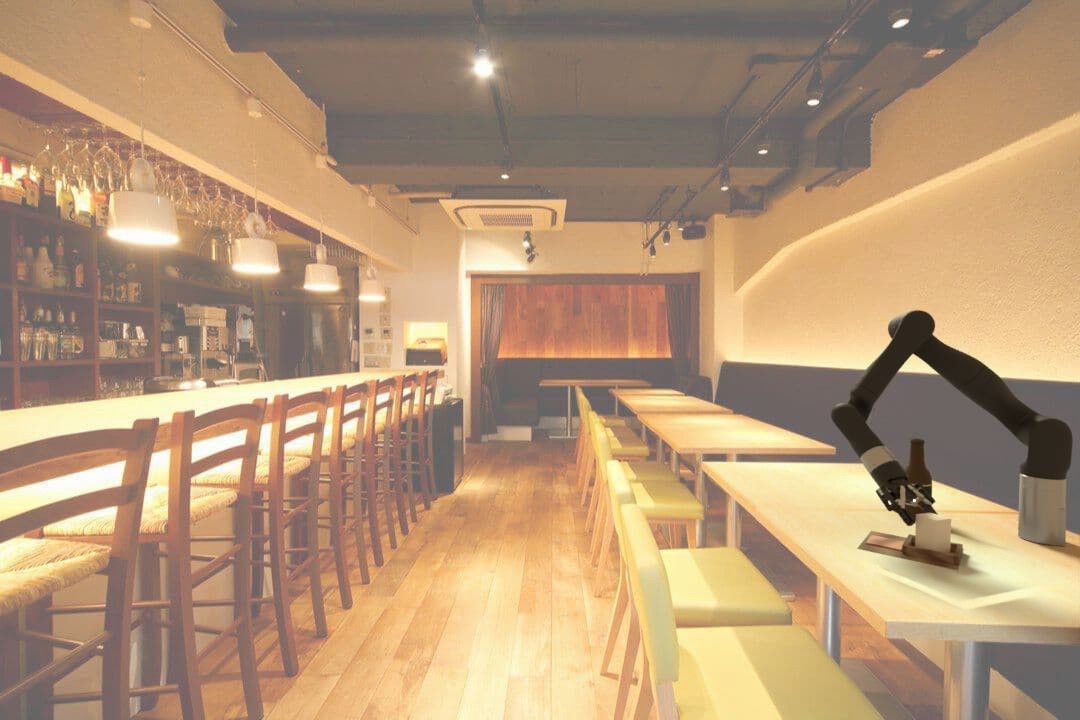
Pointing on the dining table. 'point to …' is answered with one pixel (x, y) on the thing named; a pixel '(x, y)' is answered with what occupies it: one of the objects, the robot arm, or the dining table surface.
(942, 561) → the puzzle board
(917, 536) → the cream block
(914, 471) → the beer bottle
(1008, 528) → the dining table surface
